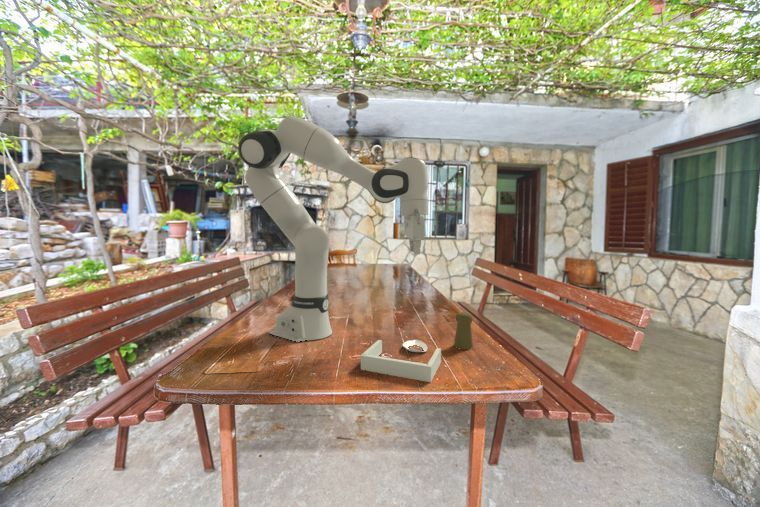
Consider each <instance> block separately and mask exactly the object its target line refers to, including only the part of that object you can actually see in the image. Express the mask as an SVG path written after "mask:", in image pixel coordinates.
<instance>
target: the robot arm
mask: <svg viewBox="0 0 760 507" xmlns="http://www.w3.org/2000/svg"><path fill="white" fill-rule="evenodd" d="M237 149H238V153H239V157H240V159H241V160H242V162H243V163H244V164H246V165H247V166H249V168H248V169H247V170H246V172H245V173H244V174H245V175H244V180H245V183H246V185H247V187H248V188H249V190H250V191H251V193H252V195H253V196H254V198H255V199H256V201H257V202H258V203H259V204H260V205H261V207H262V208H263V209H264V210H265V212H266V213H267V214H268V216H270V218H271V220H273V222H274V223H275V224H276V225H277V227H278V228H279V229H280V230H281V232H282V233H283V234H284V235H285V236H286V238H287V239H288V240H289V241H290V242H291V244H292V246H294V248H295V255H294V256H295V258H294V260H295V262H294V264H295V265H294V283H295V284H294V290H295V294H294V295H293V296H291V297H288V299H289V300H288V301H289V302H291V303H290V306H288V307H287V308H286V309H285V310H284V311H282V312H281V313H280V314H279V315H278V316H277V317H276V321H275V326H274V327H272V328H271V329H270V330H269V332H268V334H269V333H270V334H273V335H276V336H280V337H283V338H286V339H289V340H288V341H290V340H292V341H291V342H294V341H296V342H295V343H301V342H300V341H302V342H306V341H305V340H307V341H315V340H321V339H325V338H328V337H329V336H331V335H332V333H333V330H332V327H331V323H330V318H329V305H330V304H329V302H330V301H329V294H328V265H329V263H328V262H329V252H330V250H329V249H330V238H329V234H328V233H327V231H326V230H325V229H324V228H323V227H322V226H319V225H317V223H315V221H314V220H313V218H312V216H311V215H310V214H309V213H308V210H307V209H306V208H305V206H304V204H303V203H302V201H301V200H300V199H299V198H298V196H297V195H296V194H295V193H294V191H293V190H292V188H291V187H290V186H289V184H287V183H286V181H285V180H284V178H283V177H282V176H281V174H280V173H281V172H280V171H279V170H280V169H281V168H283V167H284V165H285V163H286V162H287V160H288V159H289V157H290V156H291V154H293V155H295V156H297V157H299V158H301V159H303V160H304V161H306V162H308V163H309V164H312V165H314V166H316V167H319V168H323V169H325V170H328V171H330V172H332V173H333V172H334V173H336V174H339V175H341V176H344V177H345V178H347V179H349V180H351V181H353V182H355V183H356V184H357V185H359V186H361V187H363V188H364V189H366V190H367V191H368V192H369V194H370V195H371V197H373V199H374V200H375V201H376V202H378V203H381V204H389V203H392V202H393V201H394V202H395V200H396V199H397V198H399V200H400V201H399V202H400V204H399V205H400V216H401V217H403V225H404V232H405V237H406V238H407V239H408V243H409V251H410V252H411V253H413V254H414V255H420V254H421V245H422V241H424V240H425V239H426V227H425V224H426V223H425V216H428V215H429V198H428V193H427V192H428V187H429V181H428V180H429V178H428V177H429V175H428V167H427V165H426V162H425V161H424V160H422V159H420V158H418V157H410V156H409V157H403V158H402V159H401V160H400V161H398V162H396V163H395V164H393V165H391V166H388V167H385V168H382V169H379V170H378V171H374V170H372V169H370V168H369V167H367V166H365V165H363V164H362V163H360V162H359V161H357V160H355V159H354V158H353V157H352V156H351V155H350V154H349V153H348V152H347V150H346V149H345V148H344V146H343V145H342V143H341V141H340V140H339V139H338V138H336V136H335V135H333V134H332V133H331V132H329V131H328V130H326V129H324V128H323V127H321V126H320V125H319V126H318V124H315V123H314V122H312V121H308V120H306V119H305V118H302V117H298V116H294V115H287V116H285V117H284V118H283V119H282V120H281V121H280V123H279V124H278V127H277V128H276V129H275V128H271V129H270V128H269V129H268V128H266V129H265V128H263V129H259V130H257V131H256V130H255V131H251V132H248V133H247V134H245V135H243V136H242V137H241V139H240V140H239V142H238V148H237ZM276 336H275V337H276ZM283 338H282V339H283ZM286 339H285V340H286Z"/></svg>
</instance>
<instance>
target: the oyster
mask: <svg viewBox="0 0 760 507" xmlns="http://www.w3.org/2000/svg"><path fill="white" fill-rule="evenodd" d="M413 345H417V346H420V347H422V348H423V350H424V351H422V350H420V349H416V348H415V347H412V348H411V349H409V348H408V347H409V346H413ZM402 346H403V347H404V348H405V349H406V350H407V351H409V352H412V353H425V352H427V351H428V349H429V347H428V346H427V344H426V343H425V342H424V341H421V340H420V339H417V338H416V339H413V340H412V339H411V340H406V341H405V342H404V343H402Z"/></svg>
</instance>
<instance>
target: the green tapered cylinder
mask: <svg viewBox="0 0 760 507" xmlns="http://www.w3.org/2000/svg"><path fill="white" fill-rule="evenodd" d="M455 321H456V329H455V330H456V331H455V336H454V343H453V347H454V346H455V347H457V348H456V349H458V348H460V349H459V350H461V349H470V350H472V349H473V348H474V343H473V333H472V326H471V325H472V322H473V315H472V313H470V312H466V311H460V312H457V313H456V315H455ZM455 347H454V348H455ZM472 347H473V348H472ZM471 348H472V349H471Z"/></svg>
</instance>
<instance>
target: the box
mask: <svg viewBox="0 0 760 507" xmlns="http://www.w3.org/2000/svg"><path fill="white" fill-rule="evenodd" d="M381 353H383V340H381V339H378V340H376V341H375V342H374V343H373V344H372V345H371V346H369V347H368V348H367V349H366V350H365V351H364V352H363V353H362V354H360V370H361V371H365V370H366V371H367V372H371V373H376V372H377V373H376V374H382V375H387V374H388V375H387V376H393V377H399V378H404V379H410V380H414V381H415V380H416V381H421V382H426V383H427V382H428V383H432V381H433V379H434V377H435V374H436V373H437V371H438V369H439V367H440V365H441V363H442V348H438V347H436V349H435V351H434V352H433V354H432V356H431V358H430V359H429V360H428V362H427V363H423V362H417V361H409V360H404V359H397V358H392V357H386V356H379V355H380V354H381ZM381 355H382V354H381Z"/></svg>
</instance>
